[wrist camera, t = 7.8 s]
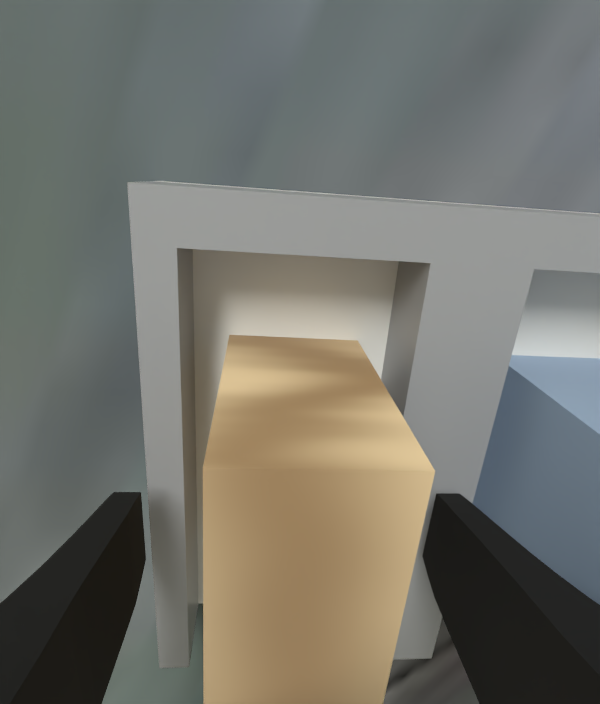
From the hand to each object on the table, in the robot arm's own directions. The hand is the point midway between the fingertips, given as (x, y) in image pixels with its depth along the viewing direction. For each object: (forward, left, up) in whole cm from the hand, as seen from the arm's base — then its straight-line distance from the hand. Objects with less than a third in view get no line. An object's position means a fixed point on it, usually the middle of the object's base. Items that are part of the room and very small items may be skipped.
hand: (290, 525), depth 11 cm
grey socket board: (-4, -1, -4) cm, 6 cm away
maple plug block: (0, 0, -3) cm, 3 cm away
